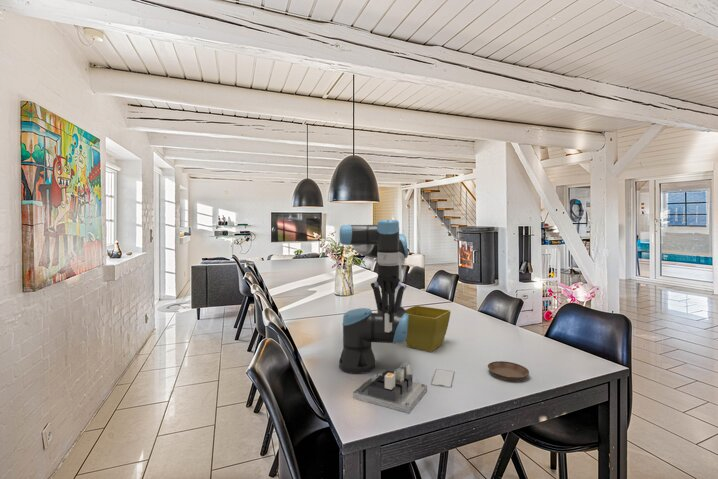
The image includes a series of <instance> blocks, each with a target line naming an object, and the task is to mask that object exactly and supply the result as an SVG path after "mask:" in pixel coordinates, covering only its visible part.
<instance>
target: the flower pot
mask: <svg viewBox="0 0 718 479" xmlns="http://www.w3.org/2000/svg"><path fill="white" fill-rule="evenodd" d="M405 313H407V314H409V321H408V331H407V338H406V341H405V344H406V346H407V348H412V349H416V350H420V351H426V352H430V353H431V352H434V351H435V350H437V349H438V348H440V347H441V346H442V345H443V343H444V340H445V338H446V337H445V336H446V335H447V331H448V327H449V323H450V317H451V310H450V309H446V308H445V309H443V308H437V307H429V306H422V305H413V306H411V307H409V308H405Z"/></svg>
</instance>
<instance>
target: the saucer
mask: <svg viewBox="0 0 718 479" xmlns="http://www.w3.org/2000/svg"><path fill="white" fill-rule="evenodd" d="M487 369H488V370H489V371H490V373H491V374H492V375H493V376H495V377H496V378H499V379H501V380H504V381H507V382H518V381H519V382H520V381H522V380H525V379H526V378H527V376H528V375H529V374H530V371H529V369H528V368H526V367H525V366H523V365H521V364H518V363H516V362H510V361H505V360H504V361H503V360H500V361H499V360H497V361H496V360H495V361H492V362H490V363H488V364H487Z"/></svg>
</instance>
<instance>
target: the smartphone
mask: <svg viewBox="0 0 718 479" xmlns="http://www.w3.org/2000/svg"><path fill="white" fill-rule="evenodd" d="M454 377H455V371H454V370H448V369H440V368H437V369H435V371H434V373H433V376H432V379H431V383H430V385H431V386H435V387H440V388H447V389H448V388H449V389H451V388H452V387H453V383H454Z"/></svg>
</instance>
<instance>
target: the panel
mask: <svg viewBox="0 0 718 479" xmlns="http://www.w3.org/2000/svg"><path fill="white" fill-rule="evenodd" d="M399 366H400V367H398V368H395V370H392V369H385V370H384V371H383V372H382V374H379V373H375V374H373V375H372V376H371V377H370V378H369V379H368V380H367V381H365V382H364V383H362V385H360V386H359V387H358V388H357V389H356V390H354V391H352V393H353V394H352V398H353V399H355V400H359V401H362V402H366V403H370V404H374V405H377V406H381V407H385V408H389V409H391V410H396V411H399V412H403V413H407V414H410V413H411V411H412V410H413V409H414V408H415V407H416V405H417V404H418V402H420V400H422V398H423V397H424V395H425V394H426V393H427V391H428V385H427V384H423V383H419V382H414V381H413V374H411V364H410V363H407V362H402V363H401V364H400V365H399ZM388 373H392V374H395V387H394V388H393V389H392V390H390V389H386V388H385V375H386V374H388Z"/></svg>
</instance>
